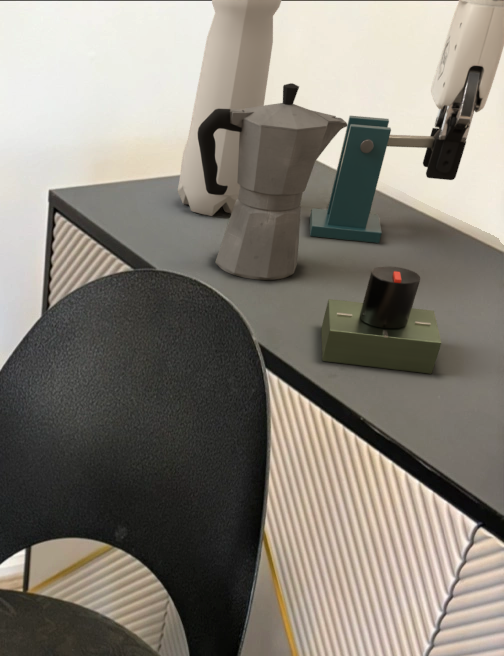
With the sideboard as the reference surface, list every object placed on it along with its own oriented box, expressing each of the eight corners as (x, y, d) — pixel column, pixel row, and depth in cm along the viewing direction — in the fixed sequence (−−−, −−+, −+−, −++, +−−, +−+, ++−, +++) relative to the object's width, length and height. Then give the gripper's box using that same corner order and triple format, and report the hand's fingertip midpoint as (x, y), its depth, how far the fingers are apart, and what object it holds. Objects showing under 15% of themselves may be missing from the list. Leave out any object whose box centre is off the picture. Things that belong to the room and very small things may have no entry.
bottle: (260, 217, 137) (318, -82, 117) (191, 220, 135) (238, -83, 115) (231, 194, 143) (281, -92, 123) (165, 197, 142) (205, -93, 122)
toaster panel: (424, 339, 109) (434, 307, 107) (431, 375, 103) (442, 342, 101) (321, 327, 111) (328, 296, 109) (322, 362, 105) (330, 329, 103)
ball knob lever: (459, 156, 128) (467, 121, 125) (462, 164, 125) (471, 129, 123) (349, 152, 130) (355, 118, 128) (350, 160, 127) (356, 125, 125)
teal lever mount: (376, 224, 136) (404, 118, 128) (379, 243, 131) (408, 133, 123) (309, 218, 137) (333, 111, 129) (309, 236, 132) (334, 126, 124)
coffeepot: (302, 251, 128) (341, 74, 116) (326, 281, 121) (370, 96, 109) (169, 250, 127) (196, 71, 115) (186, 280, 120) (215, 93, 108)
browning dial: (358, 308, 107) (371, 260, 104) (405, 313, 106) (419, 265, 103) (360, 325, 104) (373, 276, 101) (408, 331, 103) (423, 282, 100)
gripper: (448, -31, 122) (399, 150, 134) (464, -6, 110) (409, 190, 122) (520, -26, 121) (464, 156, 133) (544, 0, 109) (480, 197, 121)
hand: (438, 171), depth 128 cm, fingers closed on ball knob lever, 3 cm apart
